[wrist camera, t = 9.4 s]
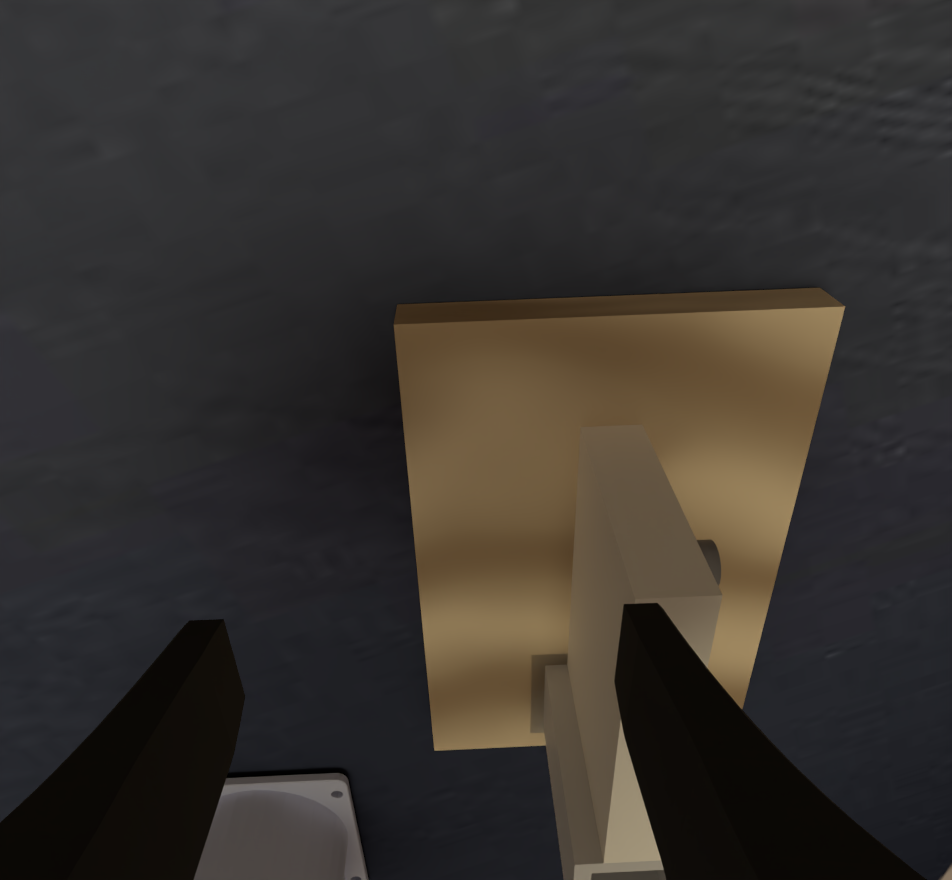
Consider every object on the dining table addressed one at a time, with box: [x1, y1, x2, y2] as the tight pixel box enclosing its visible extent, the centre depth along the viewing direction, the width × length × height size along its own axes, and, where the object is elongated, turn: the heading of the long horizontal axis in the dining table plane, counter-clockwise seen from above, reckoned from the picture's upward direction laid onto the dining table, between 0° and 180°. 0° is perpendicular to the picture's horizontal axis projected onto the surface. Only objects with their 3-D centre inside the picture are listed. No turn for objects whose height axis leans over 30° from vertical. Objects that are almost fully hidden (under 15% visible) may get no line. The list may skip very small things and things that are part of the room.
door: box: [543, 424, 722, 880], centre depth 21 cm, size 13×3×7 cm, turn 2°
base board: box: [394, 288, 845, 751], centre depth 23 cm, size 18×12×5 cm, turn 2°
